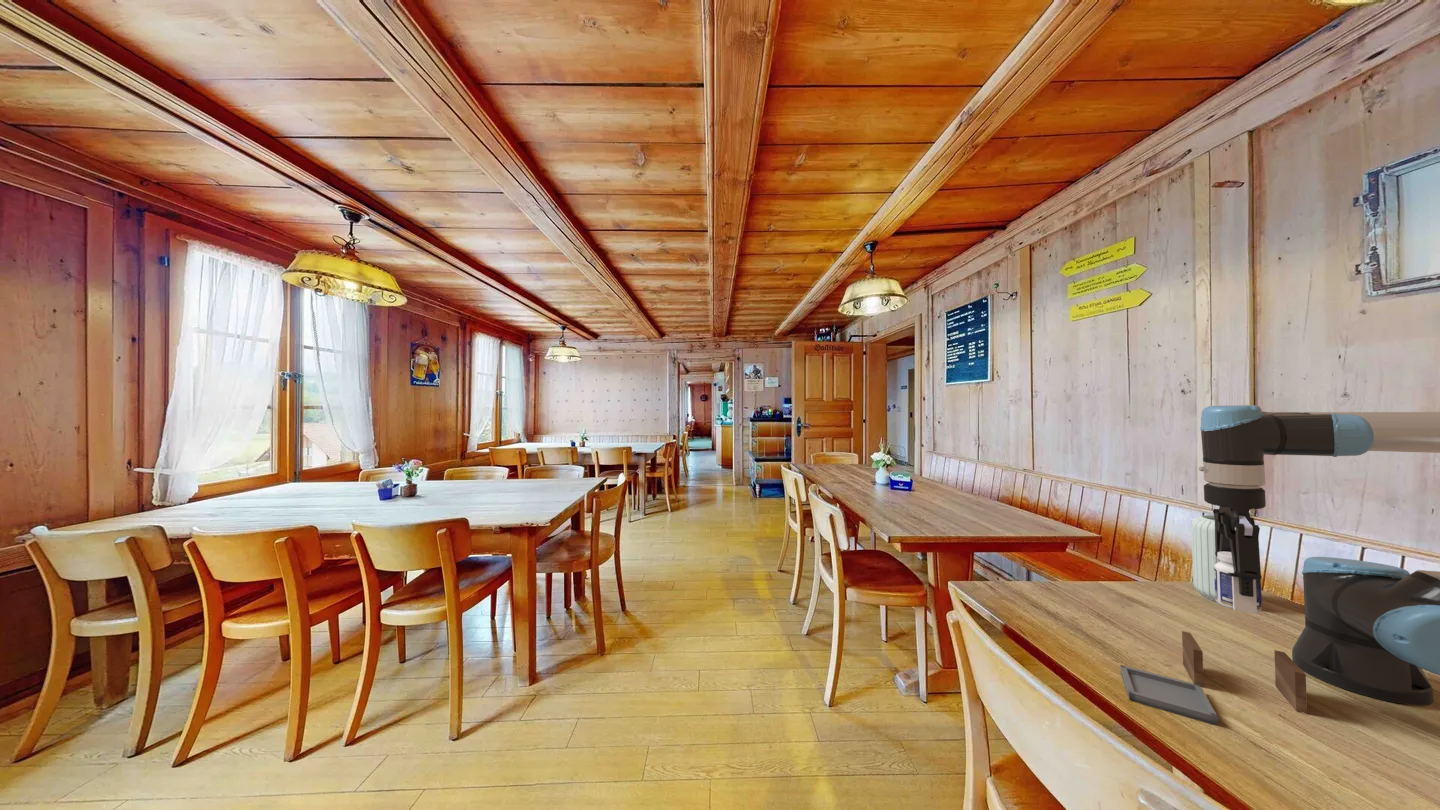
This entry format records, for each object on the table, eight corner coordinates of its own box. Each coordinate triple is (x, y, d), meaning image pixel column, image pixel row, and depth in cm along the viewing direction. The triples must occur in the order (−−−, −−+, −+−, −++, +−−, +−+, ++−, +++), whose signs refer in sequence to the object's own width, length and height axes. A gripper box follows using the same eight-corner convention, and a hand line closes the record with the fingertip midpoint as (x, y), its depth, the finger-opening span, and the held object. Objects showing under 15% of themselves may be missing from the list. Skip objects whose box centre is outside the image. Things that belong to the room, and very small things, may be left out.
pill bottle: (1272, 614, 77) (1270, 561, 77) (1235, 612, 79) (1232, 560, 79) (1241, 600, 83) (1238, 550, 83) (1206, 598, 84) (1204, 549, 84)
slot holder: (1285, 688, 80) (1284, 652, 80) (1307, 714, 74) (1305, 674, 74) (1183, 664, 88) (1181, 631, 88) (1194, 685, 82) (1193, 649, 82)
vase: (1269, 613, 107) (1266, 526, 107) (1203, 603, 113) (1200, 521, 113) (1246, 595, 116) (1243, 516, 116) (1186, 587, 123) (1184, 511, 123)
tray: (1200, 692, 80) (1199, 684, 80) (1218, 725, 72) (1218, 717, 72) (1120, 672, 86) (1120, 664, 86) (1129, 700, 78) (1129, 692, 78)
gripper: (1190, 476, 91) (1194, 582, 91) (1220, 492, 76) (1226, 620, 76) (1244, 478, 86) (1248, 591, 86) (1287, 496, 71) (1293, 632, 71)
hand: (1238, 604), depth 81 cm, fingers closed on pill bottle, 6 cm apart
